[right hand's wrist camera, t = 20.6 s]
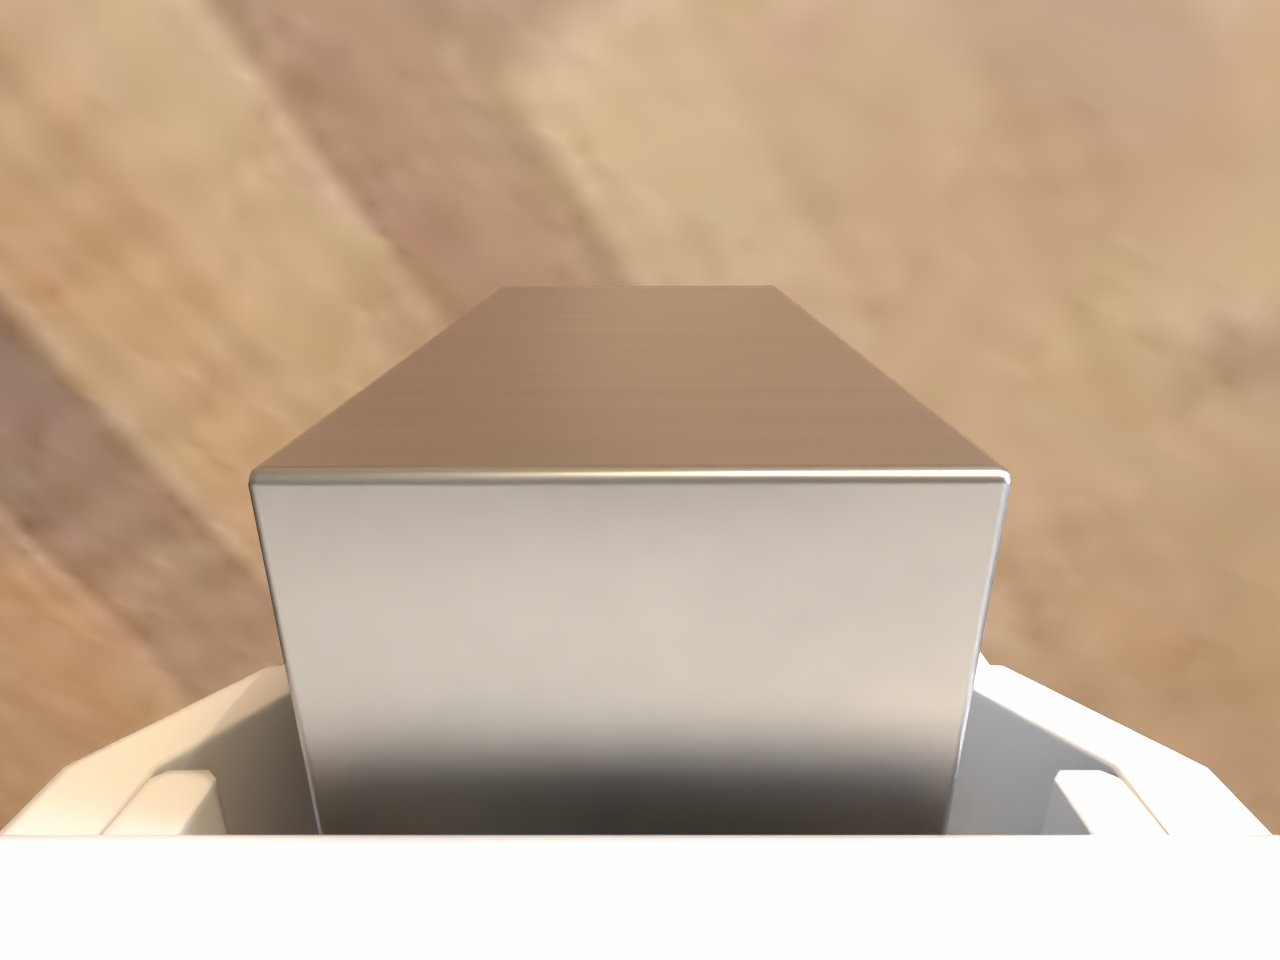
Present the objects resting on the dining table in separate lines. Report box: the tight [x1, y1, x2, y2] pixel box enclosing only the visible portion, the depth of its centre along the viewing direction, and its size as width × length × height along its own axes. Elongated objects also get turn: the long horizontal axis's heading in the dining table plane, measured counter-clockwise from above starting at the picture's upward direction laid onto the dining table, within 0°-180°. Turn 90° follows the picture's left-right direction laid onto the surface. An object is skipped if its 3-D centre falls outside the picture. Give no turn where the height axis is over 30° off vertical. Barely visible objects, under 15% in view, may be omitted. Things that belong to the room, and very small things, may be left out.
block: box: [248, 286, 1011, 835], centre depth 10 cm, size 5×8×9 cm, turn 0°
